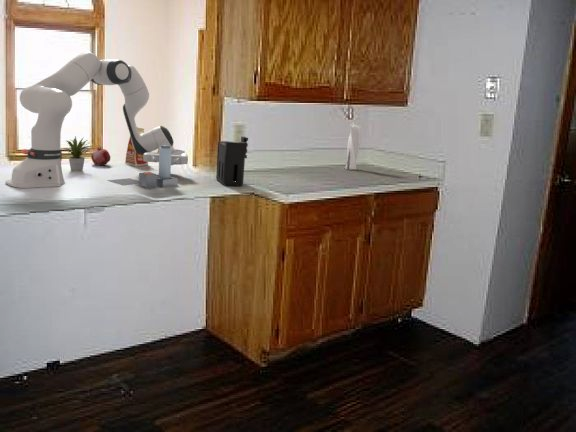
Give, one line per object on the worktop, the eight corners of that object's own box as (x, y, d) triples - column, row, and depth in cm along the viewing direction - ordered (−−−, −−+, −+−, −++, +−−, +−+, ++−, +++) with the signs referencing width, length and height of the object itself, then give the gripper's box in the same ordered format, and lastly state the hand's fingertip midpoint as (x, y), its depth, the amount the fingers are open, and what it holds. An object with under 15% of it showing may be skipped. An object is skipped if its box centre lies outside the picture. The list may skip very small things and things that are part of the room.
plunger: (146, 178, 248) (146, 173, 248) (142, 176, 250) (142, 172, 250) (152, 177, 251) (153, 172, 250) (148, 176, 253) (148, 171, 252)
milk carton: (135, 166, 304) (136, 127, 300) (124, 163, 309) (125, 124, 305) (149, 164, 311) (150, 126, 307) (138, 162, 317) (139, 124, 312)
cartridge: (163, 185, 255) (164, 146, 251) (156, 183, 258) (157, 145, 254) (172, 184, 258) (173, 146, 255) (165, 182, 262) (166, 144, 258)
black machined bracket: (224, 186, 270) (227, 138, 265) (213, 178, 288) (216, 133, 283) (249, 187, 274) (252, 139, 269) (236, 178, 293) (239, 134, 288)
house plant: (82, 175, 269) (82, 139, 265) (54, 171, 271) (54, 136, 267) (97, 170, 282) (97, 136, 279) (70, 167, 284) (70, 133, 281)
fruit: (109, 163, 304) (109, 144, 302) (111, 166, 296) (111, 147, 294) (90, 163, 301) (90, 143, 299) (91, 166, 292) (92, 146, 290)
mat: (122, 187, 249) (122, 185, 249) (106, 182, 256) (106, 180, 256) (146, 185, 258) (146, 182, 258) (129, 180, 266) (129, 178, 265)
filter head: (148, 191, 246) (149, 175, 245) (134, 187, 252) (134, 171, 251) (178, 187, 258) (179, 173, 257) (164, 183, 264) (164, 169, 263)
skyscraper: (341, 167, 360) (346, 121, 354) (353, 168, 363) (358, 122, 356) (346, 170, 352) (352, 122, 346) (359, 170, 355) (364, 123, 348)
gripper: (143, 148, 277) (141, 152, 263) (187, 151, 280) (188, 155, 267) (143, 161, 278) (141, 166, 265) (187, 164, 282) (187, 168, 269)
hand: (165, 160), depth 266 cm, fingers open, 8 cm apart
